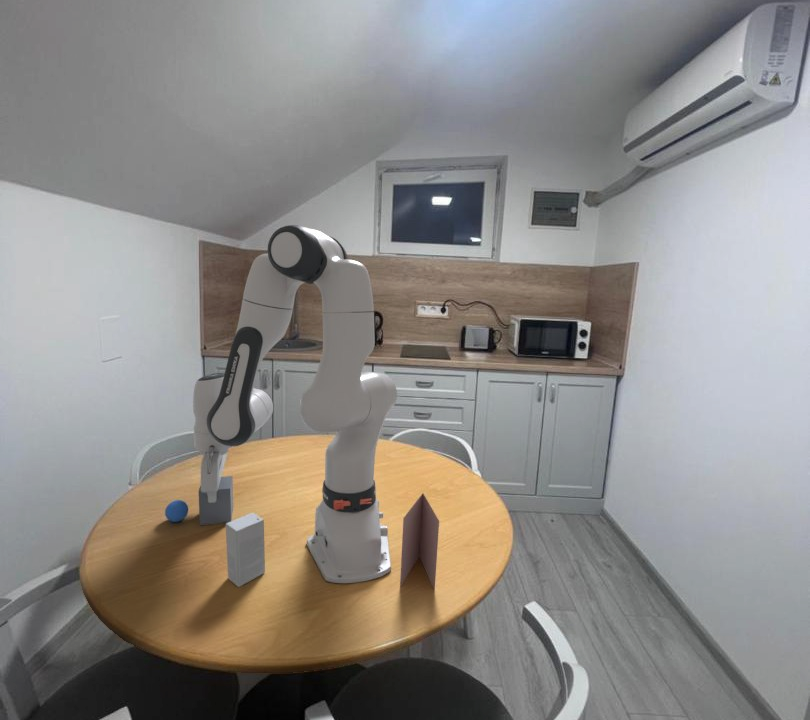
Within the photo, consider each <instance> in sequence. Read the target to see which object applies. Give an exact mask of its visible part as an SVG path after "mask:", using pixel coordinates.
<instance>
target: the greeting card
mask: <svg viewBox="0 0 810 720" xmlns="http://www.w3.org/2000/svg"><path fill="white" fill-rule="evenodd" d="M439 530H440V520H439V518H438V517H437V514H436V512H435V511H434V509H433V507H432V506H431V503H430V502H429V501H428V499H427V497H426V496H425V494H424V492H422V494H421V495H420V496H419V497H418V499H417V500H416V501H415V503H414V504H413V505H412V507H410V509H409V510H408V512H407V513H406V514H405V516H404V517H403V521H402V541H401V562H400V580H399V588H401V587H402V586H403V584H404V582H405V580H406V578H407V577H408V575H409V573H410V572H411V571H412V569H413V567H414V565H415V564H416V563H417V561H418V559H419V558H421V559H420V561H421V563H422V565H423V568H424V570H425V572H426V575H427V577H428V579H429V582H430V584H431V586H432V589H433V590H434V591H436V576H437V575H436V574H437V562H438V561H437V558H438V547H439V545H438V544H439Z"/></svg>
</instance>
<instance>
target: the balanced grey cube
mask: <svg viewBox="0 0 810 720" xmlns="http://www.w3.org/2000/svg"><path fill="white" fill-rule="evenodd" d="M233 479H234V477H233V475H231V476H230V475H229V476H228V475H227V476H221V480H220V484H219V488H218V491H217V500H216V502H213V503H209V502H208V495H207V492H202V491H201V484H200V485H199V489H198V510H199V513H198V514H199V526H206V525H215V524H223V523H225V524H226V523H229V522H231V521H232V518H233V513H234V480H233Z"/></svg>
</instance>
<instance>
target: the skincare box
mask: <svg viewBox="0 0 810 720" xmlns="http://www.w3.org/2000/svg"><path fill="white" fill-rule="evenodd" d="M225 537H226V541H225V542H226V560H227V563H226V565H227V579H228V580H230V581H231V582H232V583H233V584H234V585H235V586H237V587H238V588H240V587H242V586H243V585H245V584H247V583H248V582H251V581H252V580H254V579H256V578H258V577H260V576H262V575H264V574H265V573H266V563H265V562H266V561H265V559H266V558H265V557H266V556H265V555H266V554H265V552H266V551H265V519H264V518H262V517H261V516H259V515H258V514H256V513H254V512H250V513H247V514H246V515H243V516H241V517H237V518H236V519H234V520H231V522H226V523H225Z"/></svg>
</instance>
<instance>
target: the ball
mask: <svg viewBox="0 0 810 720" xmlns="http://www.w3.org/2000/svg"><path fill="white" fill-rule="evenodd" d="M188 513H189V506H188V504H187V503H186V502H185V501H183V500H181V499H180V500H179V499H176V500H173V501H171V502H169V503H168V505H166V508H165V510H164V516H165V518H166V519H167V520H168V521H169V522H172V523H177V522H180V521H183V520H184V519H185V518H186V516H187V515H188Z"/></svg>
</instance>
